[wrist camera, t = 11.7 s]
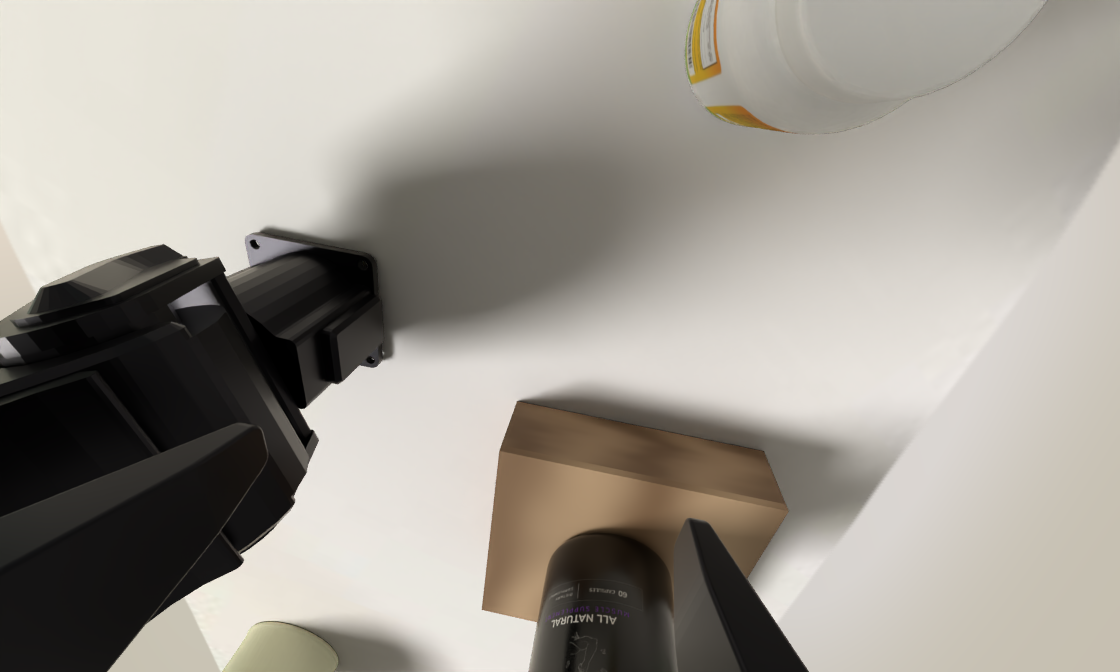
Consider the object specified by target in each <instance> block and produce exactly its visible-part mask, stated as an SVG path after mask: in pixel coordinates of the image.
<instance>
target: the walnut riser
mask: <svg viewBox="0 0 1120 672" xmlns="http://www.w3.org/2000/svg"><path fill="white" fill-rule="evenodd" d="M787 513H788V508H787V506H786V504H785V501H784V499H783V496H782V494H781V492H780V489H779V487H778V484H777V482H776V480H775V477H774V475H773V472H772V470H771V467H770V465H769V463H768V460H767V458H766V455H765V453H764V451H760V450H755V449H750V448H745V447H740V446H735V445H730V444H725V443H720V442H715V441H710V440H705V439H701V438H696V437H691V436H686V435H681V434H676V433H671V432H666V431H661V430H656V429H651V428H646V427H642V426H637V425H632V424H627V423H622V422H617V421H612V420H607V419H602V418H597V417H592V416H587V415H583V414H578V413H573V412H568V411H563V410H558V409H553V408H548V407H543V406H538V405H533V404H528V403H524V402H519V401H517V403H516V406H515V409H514V412H513V414H512V417H511V420H510V423H509V426H508V428H507V431H506V434H505V437H504V440H503V442H502V445H501V448H500V451H499V460H498V469H497V478H496V487H495V496H494V505H493V514H492V523H491V532H490V541H489V550H488V559H487V568H486V577H485V586H484V595H483V604H482V610H485V611H490V612H494V613H499V614H503V615H508V616H512V617H517V618H521V619H525V620H530V621H534V622H537V621H538V615H539V610H540V604H541V598H542V593H543V587H544V582H545V577H546V572H547V567H548V563H549V560H550V558H551V556H552V554H553V553H554V552H555V550H556V549H557V548H558V547H559V546H561V545H562V544H563V543H565V542H566V541H568V540H570V539H572V538H574V537H577V536H580V535H584V534H590V533H611V534H618V535H622V536H626V537H629V538H632V539H635V540H637V541H639V542H641V543H643V544H645V545H646V546H648V547H649V548H651V549H652V550H653V551H654V552H656V553H657V554H658V555H659V557H660V558H661V559H662V560H663V561H664V563H665V564H666V566H667V568H668V570H669V573H670V576H671V581H672V591H673V599H674V546H675V542H676V540H677V537H678V535H679V533H680V531H681V529H682V526H683V524H684V522H685V520H686V519H687V518H695V519H700V520H704V521H707V522H708V523H709V524H710V525H711V526H712V528H713V529H714V531H715V532H716V534H717V535H718V537H719V538H720V540H721V541H722V543H723V544H724V546H725V547H726V549H727V550H728V552H729V553H730V555H731V556H732V558H733V559H734V561H735V562H736V564H737V565H738V566H739V568H740V569H741V571H742V572H743V574H744V575H745V577H746V578H748V576H749V574H750V573H751V571H752V570H753V568H754V566H755V565H756V563H757V561H758V560H759V558H760V557H761V555H762V553H763V552H764V550H765V549H766V547H767V545H768V544H769V542H770V541H771V539H772V537H773V536H774V534H775V532H776V531H777V529H778V528H779V526H780V524H781V523H782V521H783V520H784V518H785V516H786V515H787Z"/></svg>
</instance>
